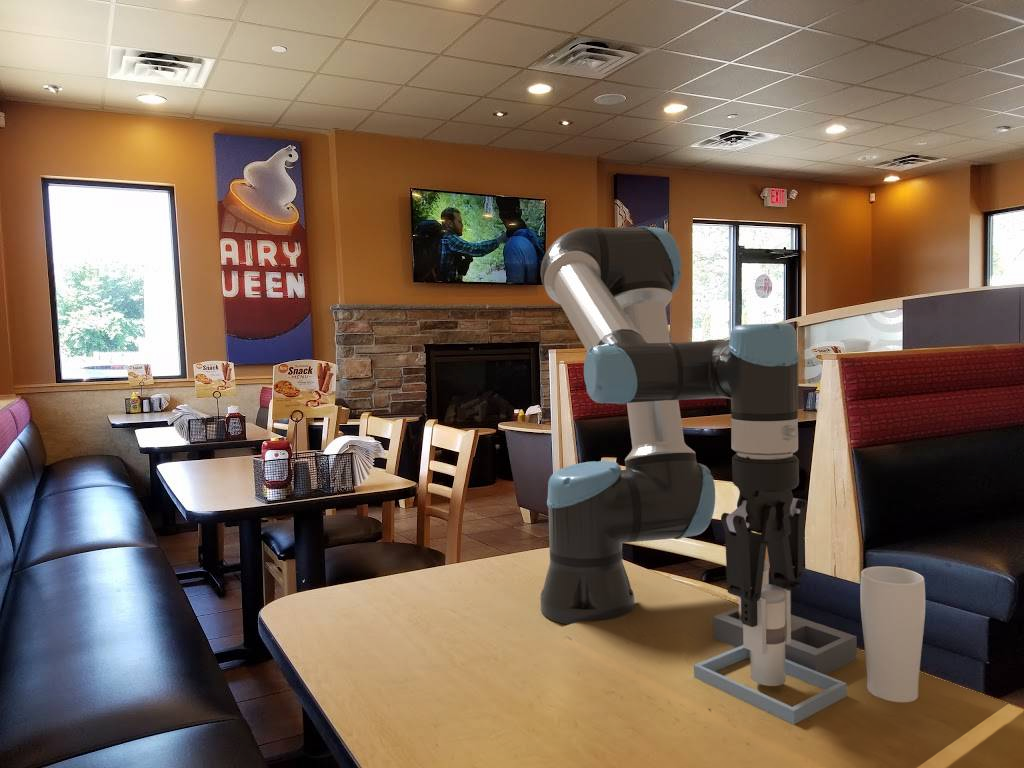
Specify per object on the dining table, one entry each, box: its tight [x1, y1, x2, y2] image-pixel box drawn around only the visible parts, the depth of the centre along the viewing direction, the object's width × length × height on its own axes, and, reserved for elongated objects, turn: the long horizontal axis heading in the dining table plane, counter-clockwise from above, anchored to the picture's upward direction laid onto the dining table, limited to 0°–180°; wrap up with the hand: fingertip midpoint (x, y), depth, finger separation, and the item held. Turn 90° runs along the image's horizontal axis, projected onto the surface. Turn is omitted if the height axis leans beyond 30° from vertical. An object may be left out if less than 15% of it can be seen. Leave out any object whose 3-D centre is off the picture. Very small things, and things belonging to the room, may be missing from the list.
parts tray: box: [693, 645, 848, 725], centre depth 89 cm, size 14×10×2 cm
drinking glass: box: [859, 565, 926, 703], centre depth 86 cm, size 7×7×15 cm
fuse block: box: [712, 606, 858, 675], centre depth 99 cm, size 16×9×4 cm, turn 34°
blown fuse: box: [749, 583, 787, 687], centre depth 88 cm, size 4×4×11 cm
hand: (767, 644), depth 88 cm, fingers closed on blown fuse, 4 cm apart
